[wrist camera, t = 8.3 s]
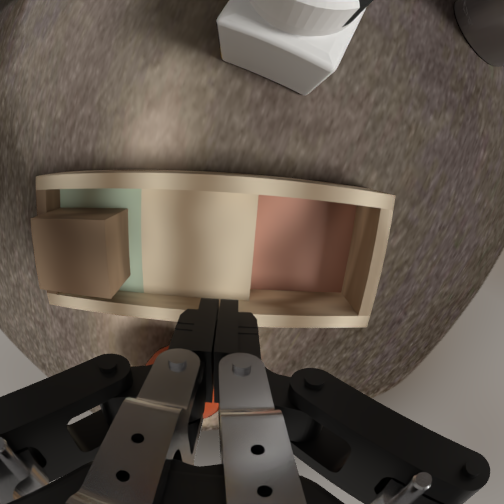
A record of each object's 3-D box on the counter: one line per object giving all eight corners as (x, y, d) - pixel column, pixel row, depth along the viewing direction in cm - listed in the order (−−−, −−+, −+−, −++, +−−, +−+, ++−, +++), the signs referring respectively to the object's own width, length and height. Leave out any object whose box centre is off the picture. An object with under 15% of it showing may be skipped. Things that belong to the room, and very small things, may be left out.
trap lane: (367, 188, 22) (395, 195, 18) (347, 300, 25) (366, 326, 21) (66, 171, 20) (35, 176, 16) (73, 282, 23) (49, 304, 19)
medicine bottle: (259, -3, 16) (276, -99, 5) (338, 32, 18) (409, -40, 6) (219, 60, 18) (205, -28, 7) (305, 97, 20) (375, 42, 8)
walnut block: (128, 208, 19) (104, 220, 15) (130, 275, 20) (111, 298, 17) (60, 207, 18) (30, 218, 15) (65, 268, 20) (40, 288, 16)
